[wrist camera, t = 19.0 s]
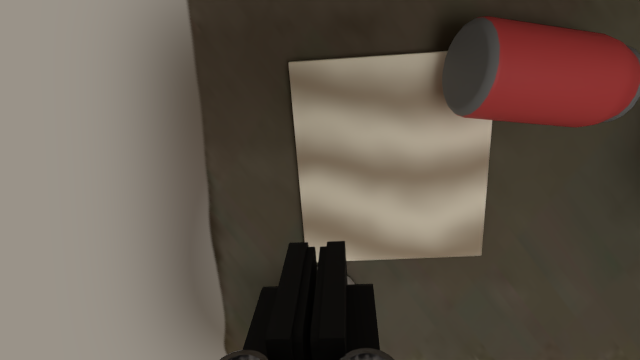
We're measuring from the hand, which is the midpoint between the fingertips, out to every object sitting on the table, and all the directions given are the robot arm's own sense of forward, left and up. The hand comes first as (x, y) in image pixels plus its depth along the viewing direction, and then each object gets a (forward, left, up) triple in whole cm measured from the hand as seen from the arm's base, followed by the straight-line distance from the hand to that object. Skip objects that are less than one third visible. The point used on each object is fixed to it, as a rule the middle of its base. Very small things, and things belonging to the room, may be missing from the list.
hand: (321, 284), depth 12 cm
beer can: (-4, +9, -18) cm, 20 cm away
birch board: (+4, +5, -23) cm, 24 cm away
